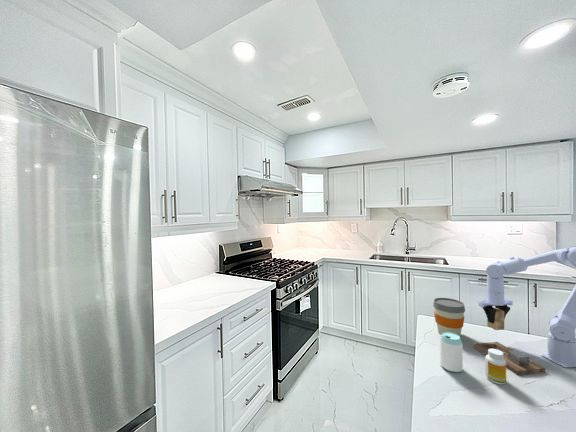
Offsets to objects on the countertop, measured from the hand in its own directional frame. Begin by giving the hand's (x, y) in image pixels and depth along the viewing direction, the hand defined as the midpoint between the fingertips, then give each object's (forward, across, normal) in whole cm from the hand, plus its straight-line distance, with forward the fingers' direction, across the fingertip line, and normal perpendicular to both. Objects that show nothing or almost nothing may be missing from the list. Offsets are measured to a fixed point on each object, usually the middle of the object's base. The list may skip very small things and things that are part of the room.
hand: (495, 322), depth 107 cm
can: (+9, +32, +13) cm, 36 cm away
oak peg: (+2, 0, 0) cm, 3 cm away
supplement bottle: (+9, +22, +21) cm, 32 cm away
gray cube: (+9, +7, +16) cm, 19 cm away
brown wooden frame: (+9, +7, +11) cm, 16 cm away
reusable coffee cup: (+9, +14, -10) cm, 20 cm away
